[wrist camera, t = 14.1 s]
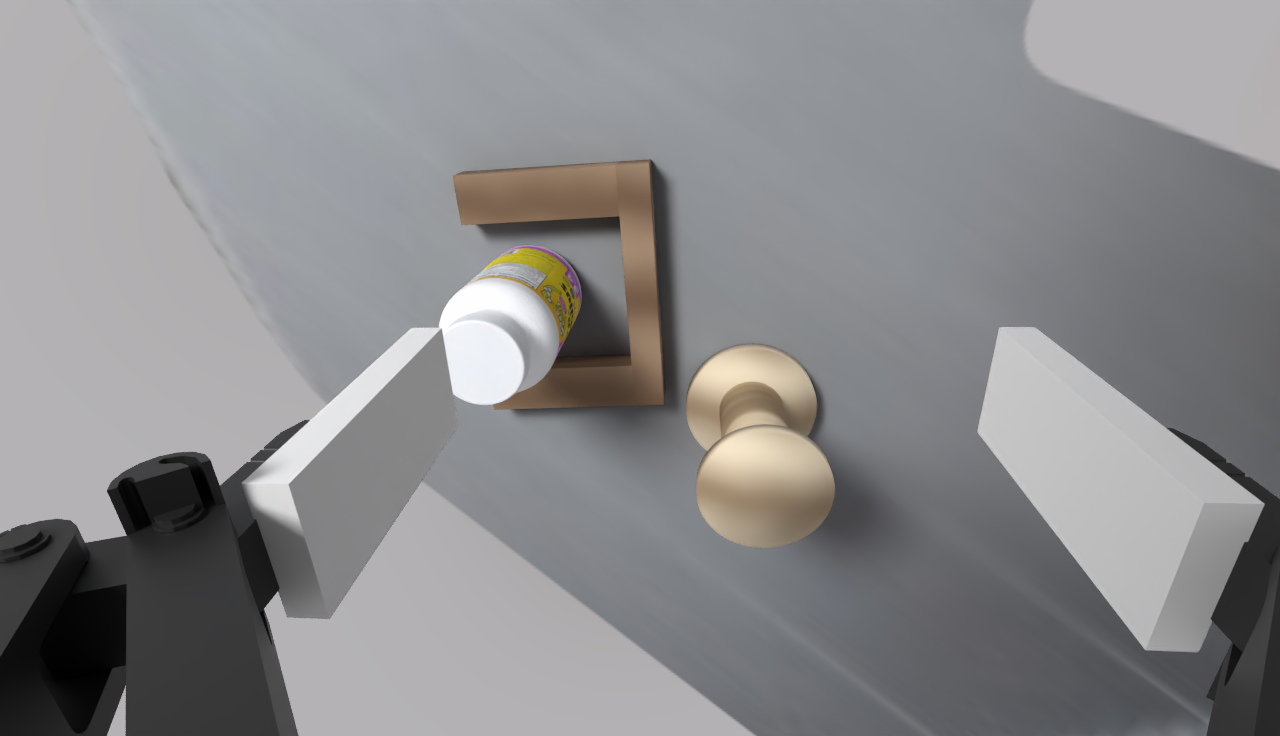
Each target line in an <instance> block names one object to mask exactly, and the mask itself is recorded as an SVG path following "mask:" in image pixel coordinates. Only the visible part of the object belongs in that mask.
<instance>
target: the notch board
mask: <svg viewBox="0 0 1280 736" xmlns="http://www.w3.org/2000/svg"><path fill="white" fill-rule="evenodd" d="M453 181H454V186H455V192H456V198H457V203H458V209H459V214H460V220H461V225H474V224H492V223H510V222H527V221H545V220H563V219H581V218H598V217H616V216H619V217H620V229H621V241H622V253H623V266H624V278H625V290H626V303H627V315H628V327H629V339H630V352H631V355H608V356H579V357H556V359H555V361H554V363H553V365H552V367H551V369H550V370H549V372H548V373H547V374H546V375H545V376H544V378H543V379H542V380H540V381H539V382H538V383H537V384H535V385H534V386H532V387H530V388H528V389H526V390H524V391H521V392H517V393H515V394H514V395H513V396H511V397H510V398H508V399H507V400H505V401H503V402H500V403H497V404H493V405H494V410H496V409H533V408H570V407H606V406H643V405H664V398H665V384H664V367H663V351H662V334H661V317H660V301H659V284H658V268H657V251H656V235H655V218H654V202H653V185H652V169H651V160H636V161H621V162H605V163H590V164H574V165H559V166H543V167H528V168H512V169H497V170H481V171H466V172H461V173H459V174H456V175H454V176H453Z"/></svg>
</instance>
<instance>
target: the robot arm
mask: <svg viewBox="0 0 1280 736" xmlns="http://www.w3.org/2000/svg"><path fill="white" fill-rule="evenodd" d="M457 427H458V420H457V415H456V409H455V403H454V397H453V391H452V385H451V379H450V373H449V367H448V361H447V356H446V350H445V344H444V338H443V332H442V328H411V329H410V330H409V331H408V332H407V333H406V334H404V335H403V336H402V337H401V338H400V339H399V340H398V341H397V342H396V343H395V344H394V345H392V346H391V347H390V348H389V349H388V350H387V351H386V352H385V353H384V354H383V355H381V356H380V357H379V358H378V359H377V360H376V361H375V362H374V363H373V364H372V365H370V366H369V367H368V368H367V369H366V370H365V371H364V372H363V373H362V374H361V375H360V376H358V377H357V378H356V379H355V380H354V381H353V382H352V383H351V384H350V385H349V386H347V387H346V388H345V389H344V390H343V391H342V392H341V393H340V394H339V395H338V396H337V397H335V398H334V399H333V400H332V401H331V402H330V403H329V404H328V405H327V406H326V407H324V408H323V409H322V410H321V411H320V412H319V413H318V414H317V415H316V416H315V417H314V418H312V419H311V420H304V421H302V422H300V423H298V424H296V425H295V426H293V427H291V428H289V429H287V430H285V431H283V432H281V433H280V434H279V435H278V436H276V437H275V438H274V439H273V440H272V441H271V442H270V443H268V444H267V445H266V446H265V447H264V450H260V452H258V453H257V454H256V455H255V456H254V457H252V458H251V462H247V463H246V464H244V465H243V466H242V467H241V468H240V469H239V470H238V471H237V472H236V473H234V474H233V475H232V476H231V477H230V478H229V479H227V480H226V481H225V482H224V483H223V484H222V485H221V486H219V483H218V480H217V477H216V475H215V472H214V469H213V466H212V463H211V461H210V459H209V458H208V457H207V456H206V455H205V454H201V453H197V452H181V453H173V454H169V455H164V456H159V457H156V458H153V459H151V460H148V461H145V462H142V463H140V464H138V465H136V466H134V467H132V468H130V469H128V470H126V471H125V472H123V473H121V474H120V475H119V476H118V477H117V478H115V479H114V480H113V481H112V482H111V483H110V485H109V487H108V489H107V492H108V494H109V496H110V498H111V501H112V503H113V505H114V508H115V510H116V512H117V514H118V517H119V519H120V521H121V523H122V525H123V528H124V530H125V532H126V534H127V536H123V537H118V538H111V539H105V540H100V541H94V542H88V543H85V542H84V540H83V538H82V536H81V534H80V532H79V530H78V528H77V526H76V525H75V524H74V523H73V522H72V521H70V520H62V519H53V520H45V521H39V522H35V523H31V524H28V525H20V526H17V527H15V528H12V529H11V531H8V530H7V531H5V532H3V533H1V534H0V736H107V733H108V731H109V728H110V725H111V723H112V720H113V717H114V715H115V712H116V709H117V707H118V704H119V701H120V699H121V696H122V693H123V691H124V688H125V685H126V736H298V733H297V729H296V725H295V721H294V717H293V713H292V710H291V706H290V702H289V698H288V694H287V691H286V687H285V683H284V679H283V675H282V671H281V667H280V663H279V659H278V656H277V652H276V648H275V644H274V640H273V636H272V633H271V629H270V625H269V622H268V619H267V617H266V613H265V611H264V608H265V607H266V605H267V604H268V603H269V601H270V600H271V599H272V598H273V596H274V595H275V594H276V593H277V591H278V592H279V595H280V598H281V600H282V604H283V606H284V609H285V612H286V615H287V617H295V618H321V619H330V618H331V616H332V615H333V613H334V612H335V610H336V609H337V607H338V606H339V604H340V603H341V601H342V600H343V598H344V597H345V595H346V594H347V592H348V591H349V589H350V588H351V586H352V585H353V583H354V581H355V580H356V579H357V577H358V576H359V574H360V573H361V571H362V570H363V568H364V567H365V565H366V564H367V562H368V561H369V559H370V558H371V556H372V555H373V553H374V552H375V550H376V549H377V547H378V546H379V544H380V543H381V541H382V540H383V538H384V537H385V535H386V534H387V532H388V531H389V529H390V528H391V526H392V525H393V523H394V522H395V520H396V519H397V517H398V516H399V514H400V513H401V511H402V510H403V508H404V507H405V505H406V504H407V502H408V501H409V499H410V498H411V496H412V495H413V493H414V492H415V490H416V489H417V487H418V486H419V484H420V483H421V481H422V480H423V478H424V477H425V475H426V474H427V472H428V471H429V469H430V468H431V466H432V465H433V463H434V462H435V460H436V459H437V457H438V456H439V454H440V453H441V451H442V450H443V448H444V447H445V445H446V444H447V442H448V441H449V439H450V438H451V436H452V435H453V433H454V432H455V430H456V429H457ZM977 432H978V433H979V435H980V436H981V437H982V439H983V440H984V441H985V443H986V444H987V445H988V446H989V448H990V449H991V450H992V452H993V453H994V454H995V456H996V457H997V458H998V459H999V461H1000V462H1001V463H1002V465H1003V466H1004V467H1005V469H1006V470H1007V471H1008V472H1009V474H1010V475H1011V476H1012V478H1013V479H1014V480H1015V482H1016V483H1017V484H1018V485H1019V487H1020V488H1021V489H1022V491H1023V492H1024V493H1025V495H1026V496H1027V497H1028V498H1029V500H1030V501H1031V502H1032V504H1033V505H1034V506H1035V508H1036V509H1037V510H1038V511H1039V513H1040V514H1041V515H1042V517H1043V518H1044V519H1045V520H1046V522H1047V523H1048V524H1049V526H1050V527H1051V528H1052V530H1053V531H1054V532H1055V533H1056V535H1057V536H1058V537H1059V539H1060V540H1061V541H1062V543H1063V544H1064V545H1065V546H1066V548H1067V549H1068V550H1069V552H1070V553H1071V554H1072V556H1073V557H1074V558H1075V559H1076V561H1077V562H1078V563H1079V565H1080V566H1081V567H1082V569H1083V570H1084V571H1085V572H1086V574H1087V575H1088V576H1089V578H1090V579H1091V580H1092V582H1093V583H1094V584H1095V585H1096V587H1097V588H1098V589H1099V591H1100V592H1101V593H1102V595H1103V596H1104V597H1105V598H1106V600H1107V601H1108V602H1109V604H1110V605H1111V606H1112V608H1113V609H1114V610H1115V611H1116V613H1117V614H1118V615H1119V617H1120V618H1121V619H1122V620H1123V622H1124V623H1125V624H1126V626H1127V627H1128V628H1129V630H1130V631H1131V632H1132V633H1133V635H1134V636H1135V637H1136V639H1137V640H1138V641H1139V643H1140V644H1141V645H1142V646H1143V648H1144V649H1145V650H1151V651H1177V652H1199V650H1200V648H1201V646H1202V644H1203V642H1204V639H1205V637H1206V635H1207V633H1208V630H1209V628H1210V626H1211V624H1212V621H1213V622H1214V623H1215V624H1216V625H1217V626H1218V627H1219V628H1220V629H1221V631H1222V632H1223V633H1224V634H1225V635H1226V636H1227V637H1228V638H1229V639H1230V640H1231V641H1232V643H1231V646H1230V648H1229V650H1228V652H1227V654H1226V656H1225V658H1224V660H1223V663H1222V665H1221V667H1220V669H1219V671H1218V673H1217V675H1216V677H1215V680H1214V682H1213V684H1212V686H1211V688H1210V690H1209V692H1208V694H1207V698H1209V699H1211V700H1213V701H1214V704H1213V709H1212V713H1211V718H1210V722H1209V727H1208V731H1207V736H1280V499H1278V498H1277V497H1276V496H1274V495H1273V494H1272V493H1270V492H1269V491H1268V490H1266V489H1265V488H1264V487H1262V486H1261V485H1260V484H1258V483H1257V482H1255V481H1254V480H1253V479H1251V478H1250V477H1245V473H1243V472H1242V471H1241V470H1239V469H1238V468H1237V467H1235V466H1234V465H1233V464H1231V463H1226V459H1224V458H1223V457H1222V456H1220V455H1219V454H1218V453H1216V452H1215V451H1214V450H1212V449H1211V448H1210V447H1208V446H1207V445H1206V444H1204V443H1203V442H1200V441H1198V440H1196V439H1194V438H1192V437H1190V436H1187V435H1185V434H1183V433H1181V432H1179V431H1177V430H1175V429H1172V428H1165V427H1164V426H1163V425H1161V424H1160V423H1159V422H1157V421H1156V420H1155V419H1154V418H1152V417H1151V416H1150V415H1148V414H1147V413H1146V412H1144V411H1143V410H1142V409H1141V408H1139V407H1138V406H1137V405H1135V404H1134V403H1133V402H1131V401H1130V400H1129V399H1128V398H1126V397H1125V396H1124V395H1122V394H1121V393H1120V392H1118V391H1117V390H1116V389H1114V388H1113V387H1112V386H1111V385H1109V384H1108V383H1107V382H1105V381H1104V380H1103V379H1101V378H1100V377H1099V376H1098V375H1096V374H1095V373H1094V372H1092V371H1091V370H1090V369H1088V368H1087V367H1086V366H1085V365H1083V364H1082V363H1081V362H1079V361H1078V360H1077V359H1075V358H1074V357H1073V356H1072V355H1070V354H1069V353H1068V352H1066V351H1065V350H1064V349H1062V348H1061V347H1060V346H1059V345H1057V344H1056V343H1055V342H1053V341H1052V340H1051V339H1049V338H1048V337H1047V336H1045V335H1044V334H1043V333H1042V332H1040V331H1039V330H1038V329H1036V328H1035V327H999V332H998V336H997V341H996V346H995V351H994V355H993V360H992V365H991V370H990V374H989V379H988V384H987V388H986V393H985V398H984V403H983V407H982V412H981V417H980V422H979V426H978V431H977Z"/></svg>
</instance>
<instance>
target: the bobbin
mask: <svg viewBox="0 0 1280 736" xmlns="http://www.w3.org/2000/svg"><path fill="white" fill-rule="evenodd" d="M686 413H687V420H688V424H689V427H690V429H691V432H692V434H693V435H694V437H695V439H696V440H697V441H698V442H699V444H700V445H701V446H702V447H703V448H704V449H705V450H706V451H707V453H706V454H705V455H704V457H703V459H702V461H701V463H700V466H699V469H698V473H697V501H698V505H699V508H700V511H701V513H702V515H703V517H704V518H705V520H706V521H707V523H708V524H709V525H710V526H711V527H712V528H713V529H714V530H715V531H716V532H717V533H719V534H720V535H722V536H723V537H725V538H726V539H728V540H730V541H732V542H735V543H738V544H741V545H744V546H749V547H755V548H774V547H780V546H784V545H788V544H791V543H794V542H796V541H799V540H801V539H802V538H804V537H806V536H808V535H809V534H810V533H812V532H813V531H814V530H815V529H817V528H818V527H819V526H820V525H821V523H822V522H823V521H824V520H825V518H826V517H827V515H828V514H829V512H830V510H831V507H832V504H833V501H834V496H835V483H834V477H833V474H832V471H831V469H830V466H829V463H828V460H827V458H826V456H825V454H824V453H823V451H822V450H821V449H820V447H819V446H818V445H817V444H816V443H815V442H814V441H813V440H811V439H810V438H809V437H807V436H808V435H809V433H810V431H811V430H812V427H813V425H814V422H815V418H816V413H817V399H816V394H815V391H814V388H813V385H812V383H811V380H810V378H809V376H808V374H807V372H806V371H805V369H804V368H803V366H802V365H801V364H800V363H799V362H798V361H797V360H796V359H795V358H793V357H792V356H791V355H789V354H787V353H786V352H784V351H782V350H780V349H777V348H775V347H771V346H768V345H762V344H742V345H737V346H732V347H730V348H727V349H724V350H722V351H720V352H718V353H716V354H715V355H713V356H712V357H710V358H709V359H708V360H706V361H705V362H704V363H703V364H702V365H701V366H700V368H699V369H698V370H697V371H696V373H695V374H694V376H693V378H692V380H691V382H690V385H689V388H688V393H687V407H686Z"/></svg>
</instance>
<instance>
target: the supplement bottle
mask: <svg viewBox="0 0 1280 736" xmlns="http://www.w3.org/2000/svg"><path fill="white" fill-rule="evenodd" d="M581 300H582V293H581V286H580V282H579V280H578V277H577V275H576V273H575V271H574V269H573V268H572V267H571V265H570V264H569V263H568V262H567V261H566V260H565V259H564V258H563V257H562V256H560V255H559V254H557V253H556V252H554V251H552V250H550V249H548V248H545V247H541V246H534V245H523V246H518V247H515V248H512V249H509V250H507V251H506V252H504V253H502V254H501V255H500V256H498V257H497V258H496V259H495V260H494V261H492V262H491V263H490V264H489V265H488V266H487V267H486V268H484V269H483V270H482V271H481V272H480V273H479V274H478V275H477V276H476V277H474V278H473V279H472V280H471V281H470V282H469V283H468V284H466V285H465V286H464V287H463V288H462V289H460V290H459V291H458V292H457V293H456V294H455V295H454V296H453V297H452V298H451V299H450V301H449V302H448V303H447V305H446V307H445V309H444V311H443V313H442V316H441V319H440V323H439V328H442V332H443V338H444V344H445V350H446V356H447V361H448V367H449V373H450V379H451V385H452V391H453V394H454V395H455V396H457V397H458V398H460V399H462V400H464V401H467V402H469V403H473V404H478V405H492V404H497V403H500V402H503V401H505V400H507V399H508V398H510V397H511V396H513V395H514V394H515V393H517V392H521V391H524V390H526V389H528V388H530V387H532V386H534V385H535V384H537V383H538V382H539V381H540V380H542V379H543V378H544V376H545V375H546V374H547V373H548V372H549V370H550V369H551V367H552V365H553V363H554V361H555V359H556V357H557V355H558V353H559V351H560V349H561V347H562V346H563V344H564V342H565V340H566V338H567V336H568V334H569V332H570V330H571V328H572V326H573V324H574V322H575V320H576V318H577V316H578V313H579V310H580V307H581Z"/></svg>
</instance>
